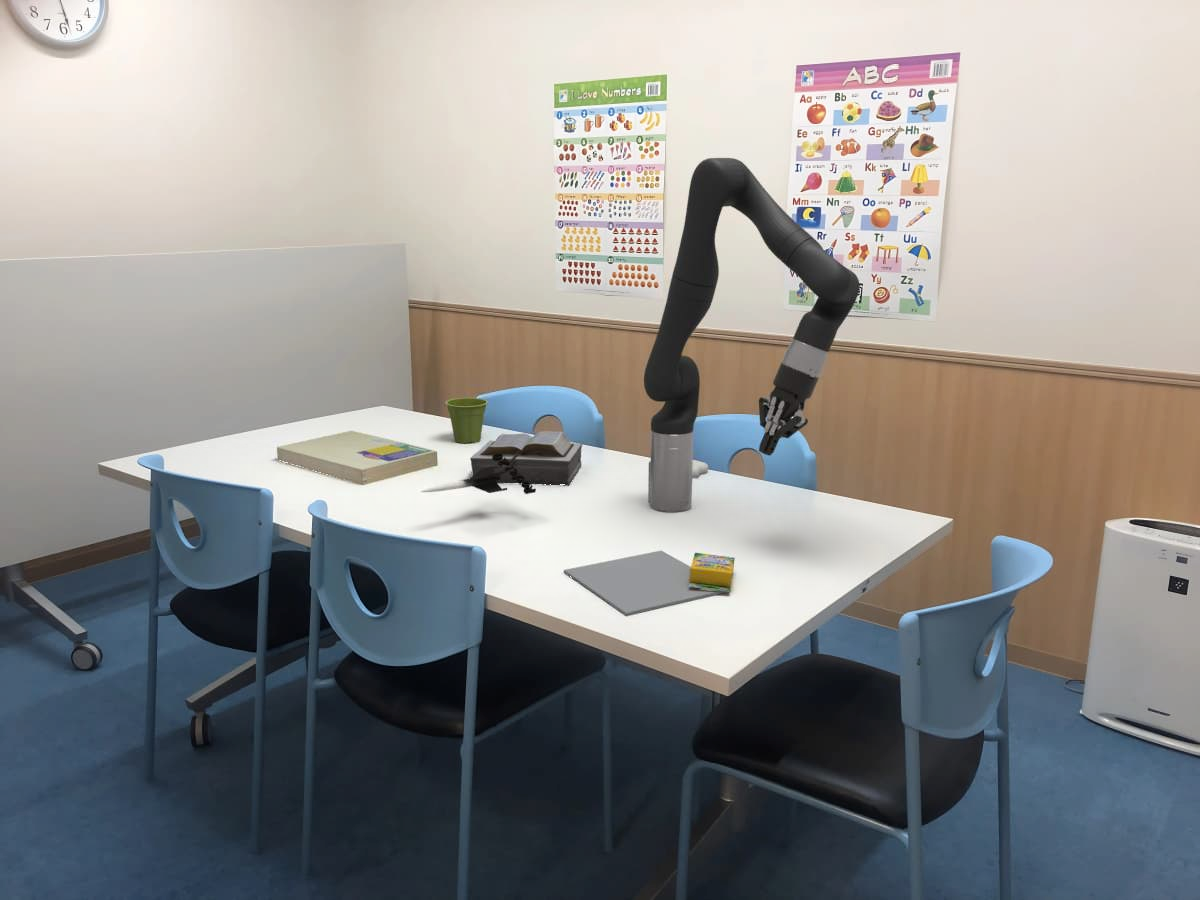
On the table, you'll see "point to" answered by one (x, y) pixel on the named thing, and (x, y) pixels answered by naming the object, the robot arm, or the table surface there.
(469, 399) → the plant pot
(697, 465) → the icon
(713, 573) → the crayon box
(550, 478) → the bible
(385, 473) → the puzzle box
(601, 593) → the slate mat
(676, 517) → the table surface
